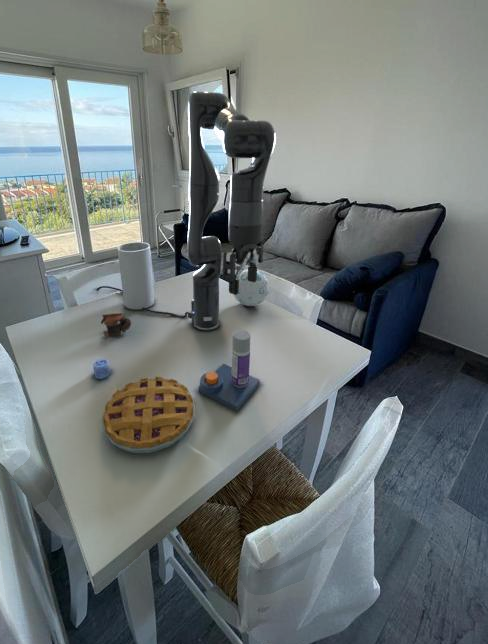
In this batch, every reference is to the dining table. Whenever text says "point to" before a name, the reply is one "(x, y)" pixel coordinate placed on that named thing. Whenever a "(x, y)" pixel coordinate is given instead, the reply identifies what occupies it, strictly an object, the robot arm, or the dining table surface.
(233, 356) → the container
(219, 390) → the scale
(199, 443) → the dining table surface
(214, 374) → the button
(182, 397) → the pie
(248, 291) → the puzzle ball
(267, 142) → the robot arm
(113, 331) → the pottery mug
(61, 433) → the dining table surface
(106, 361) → the decorative dice
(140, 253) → the cylinder vase
